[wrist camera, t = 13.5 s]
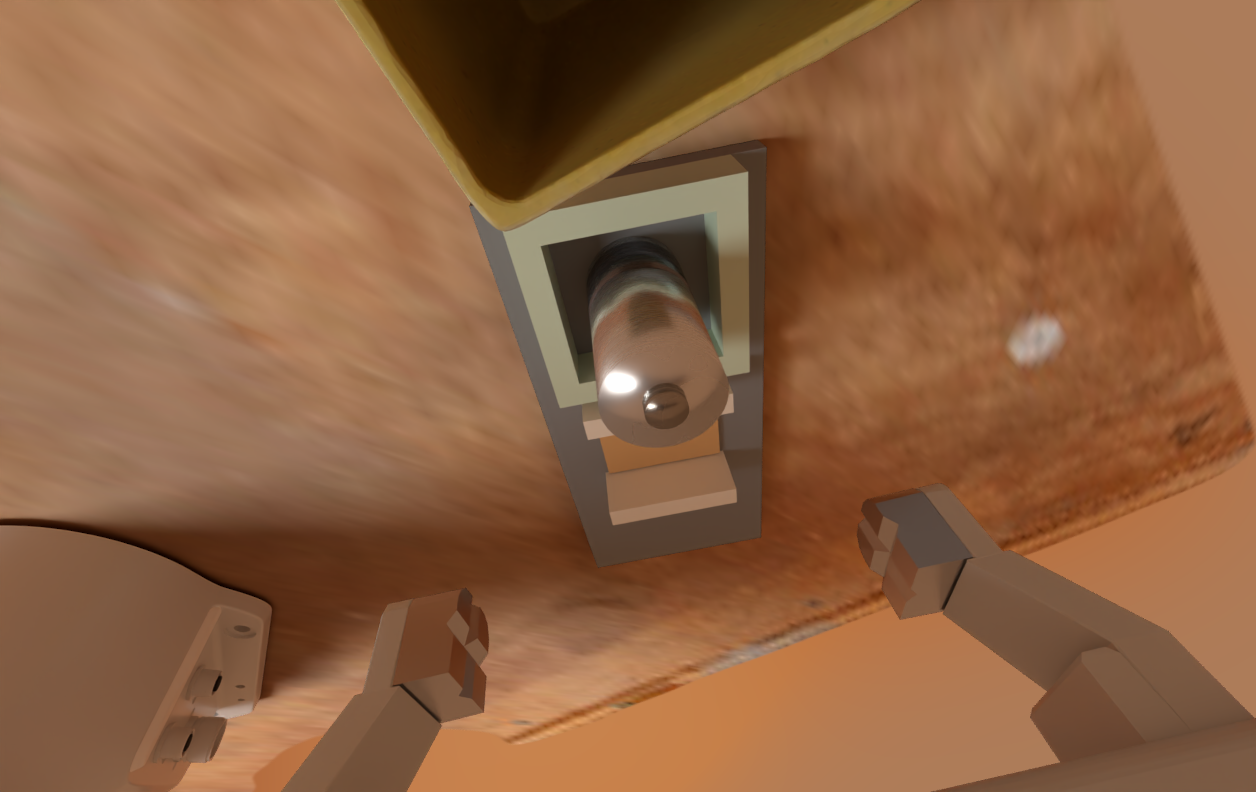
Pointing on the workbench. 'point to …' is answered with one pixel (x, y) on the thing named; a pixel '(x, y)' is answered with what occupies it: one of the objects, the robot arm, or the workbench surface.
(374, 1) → the flower pot
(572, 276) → the board
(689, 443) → the cradle
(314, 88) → the workbench surface
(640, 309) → the cell
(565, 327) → the pale green flat frame
